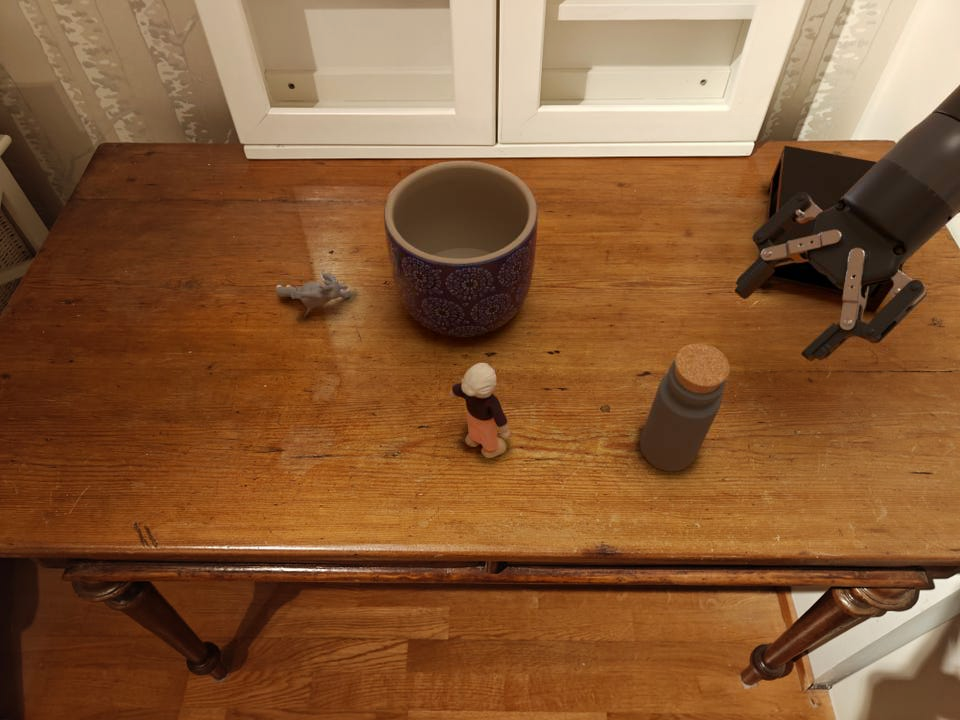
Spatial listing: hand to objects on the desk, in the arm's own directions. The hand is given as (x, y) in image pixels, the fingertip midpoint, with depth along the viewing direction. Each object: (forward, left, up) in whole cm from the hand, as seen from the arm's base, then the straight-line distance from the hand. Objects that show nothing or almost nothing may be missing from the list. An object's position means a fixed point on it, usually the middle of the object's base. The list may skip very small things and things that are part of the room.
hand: (771, 325), depth 64 cm
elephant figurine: (+49, 0, -15) cm, 52 cm away
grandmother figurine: (+24, +11, -15) cm, 31 cm away
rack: (-9, -30, -15) cm, 34 cm away
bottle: (+5, +6, -15) cm, 17 cm away
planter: (+32, -7, -15) cm, 37 cm away
